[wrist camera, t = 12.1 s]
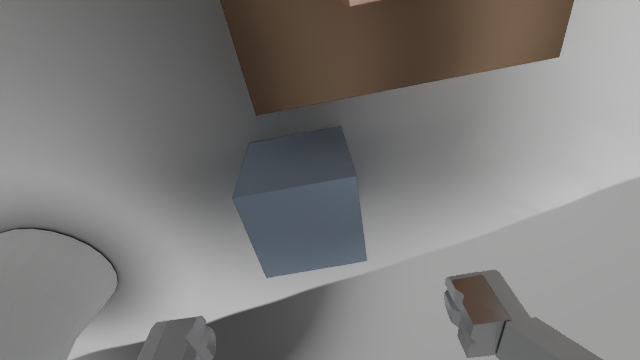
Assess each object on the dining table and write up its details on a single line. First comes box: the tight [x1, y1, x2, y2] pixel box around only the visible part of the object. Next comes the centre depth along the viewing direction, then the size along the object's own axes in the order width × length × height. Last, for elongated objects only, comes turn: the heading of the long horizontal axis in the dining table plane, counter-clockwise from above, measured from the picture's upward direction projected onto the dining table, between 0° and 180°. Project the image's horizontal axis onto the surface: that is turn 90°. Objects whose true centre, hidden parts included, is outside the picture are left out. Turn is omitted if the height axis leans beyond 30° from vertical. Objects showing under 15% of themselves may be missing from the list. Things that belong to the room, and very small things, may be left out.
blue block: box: [232, 126, 367, 278], centre depth 15 cm, size 5×5×5 cm
